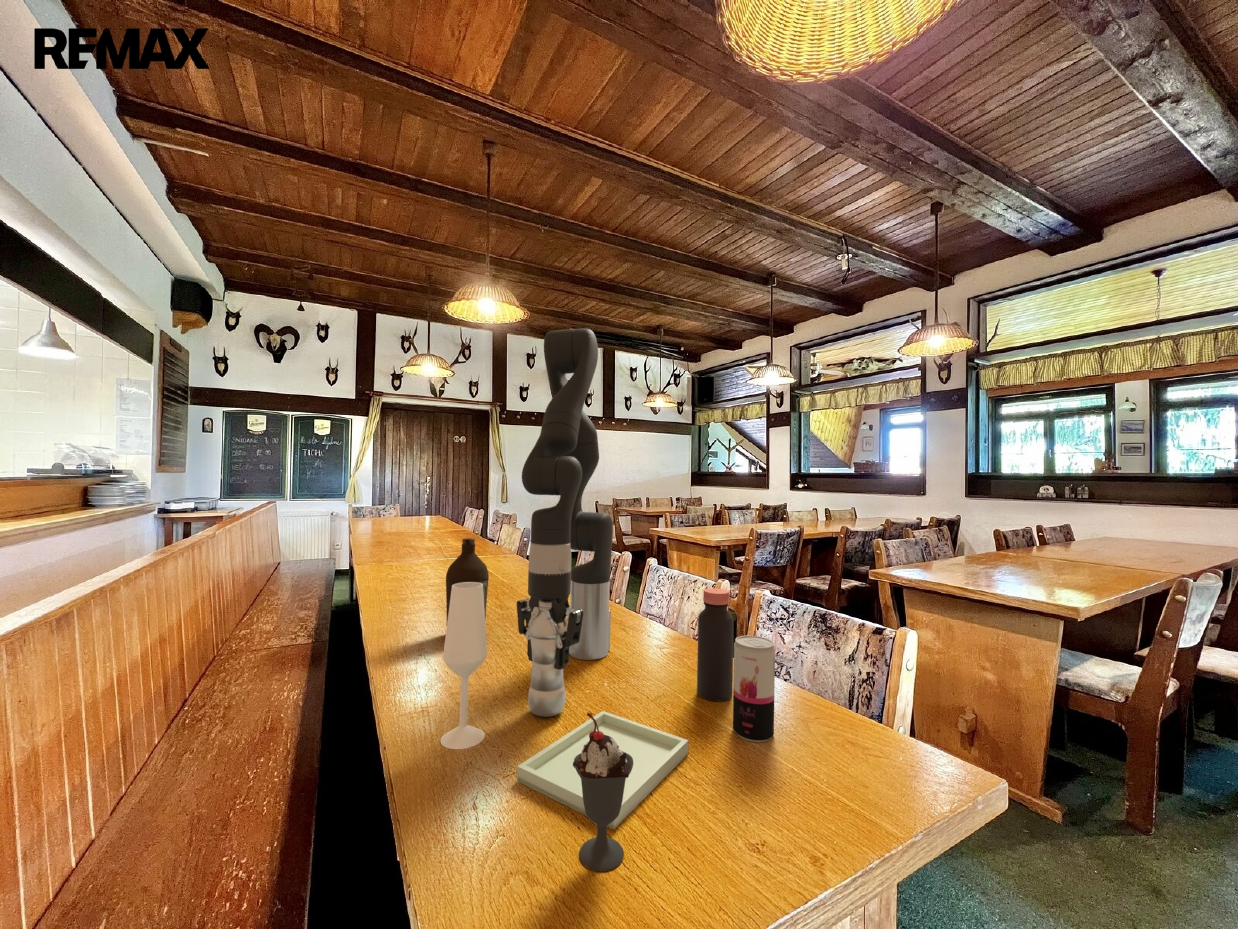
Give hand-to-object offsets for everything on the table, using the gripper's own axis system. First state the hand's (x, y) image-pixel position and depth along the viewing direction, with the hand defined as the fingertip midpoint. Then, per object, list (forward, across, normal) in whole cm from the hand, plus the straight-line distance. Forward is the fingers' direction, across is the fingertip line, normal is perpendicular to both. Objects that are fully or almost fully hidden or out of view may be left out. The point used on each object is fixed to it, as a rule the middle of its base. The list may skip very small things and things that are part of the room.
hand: (547, 663), depth 87 cm
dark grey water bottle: (+9, -21, -25) cm, 34 cm away
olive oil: (+9, +45, -19) cm, 50 cm away
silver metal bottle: (+9, 0, 0) cm, 9 cm away
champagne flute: (+9, +5, +14) cm, 17 cm away
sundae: (+9, -27, +21) cm, 35 cm away
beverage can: (+9, -32, -15) cm, 36 cm away
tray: (+9, -18, +7) cm, 21 cm away
